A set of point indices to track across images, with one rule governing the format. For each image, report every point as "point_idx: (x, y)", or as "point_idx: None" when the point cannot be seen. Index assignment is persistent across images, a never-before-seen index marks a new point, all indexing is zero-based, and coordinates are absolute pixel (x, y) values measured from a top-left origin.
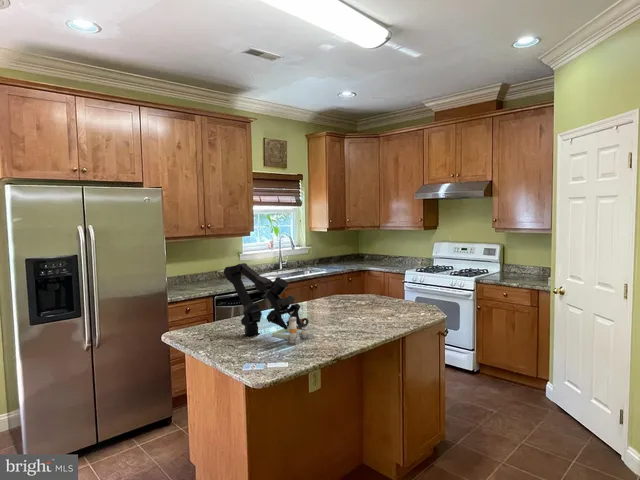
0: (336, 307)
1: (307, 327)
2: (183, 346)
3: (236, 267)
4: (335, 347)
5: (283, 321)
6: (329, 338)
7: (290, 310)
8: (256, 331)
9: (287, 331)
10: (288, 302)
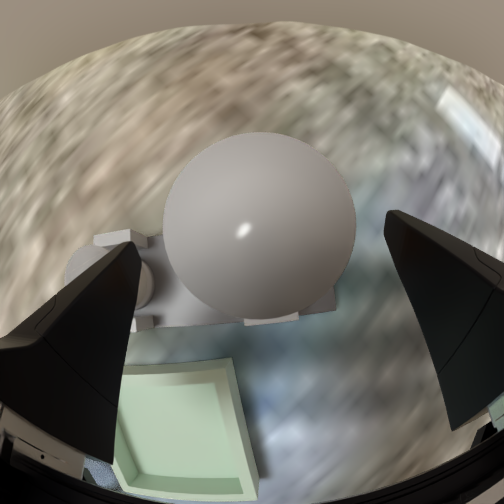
0: None
1: (76, 269)
2: None
3: None
4: (160, 77)
5: (460, 253)
6: (63, 195)
7: (57, 488)
8: None
9: (132, 467)
10: None
